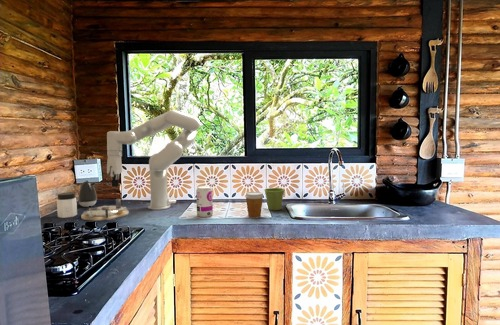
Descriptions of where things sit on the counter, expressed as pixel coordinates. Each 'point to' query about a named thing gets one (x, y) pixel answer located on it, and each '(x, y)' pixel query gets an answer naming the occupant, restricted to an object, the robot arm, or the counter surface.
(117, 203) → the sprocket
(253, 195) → the disposable coffee cup
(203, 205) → the supplement can
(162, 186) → the robot arm
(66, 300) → the counter surface
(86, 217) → the sprocket base
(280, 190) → the plant pot
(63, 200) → the jar
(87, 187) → the gray teardrop vessel
